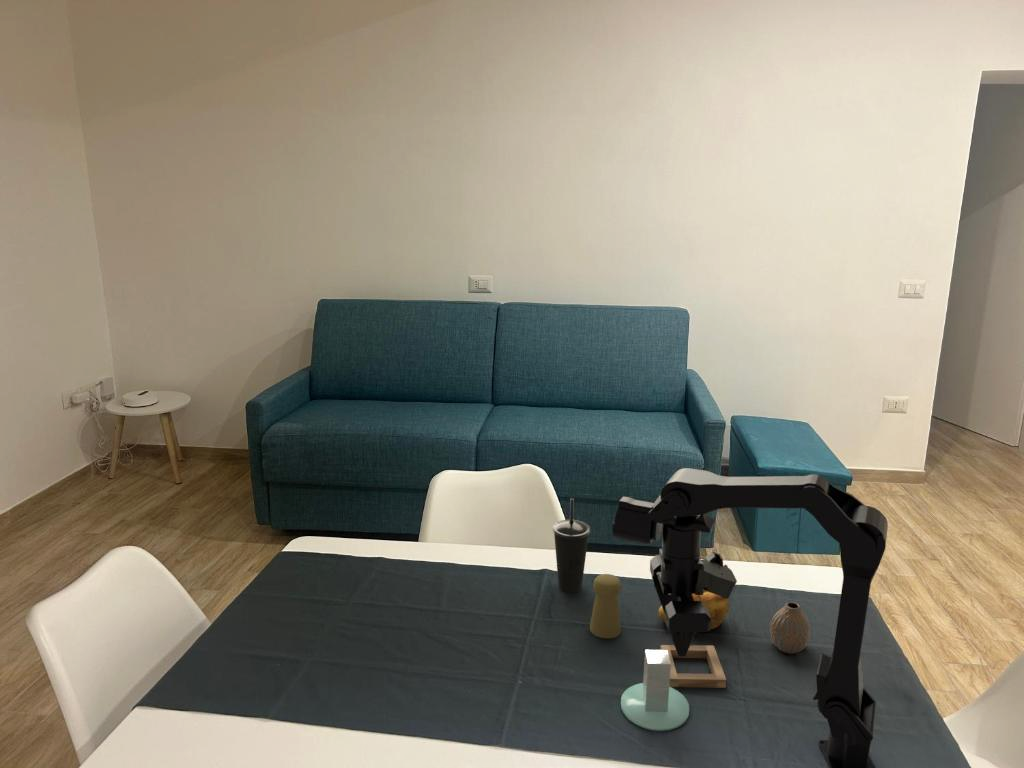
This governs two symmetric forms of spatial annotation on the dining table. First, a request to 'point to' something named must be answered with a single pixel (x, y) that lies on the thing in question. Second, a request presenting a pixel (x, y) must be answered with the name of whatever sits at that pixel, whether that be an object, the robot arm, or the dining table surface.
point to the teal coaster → (654, 720)
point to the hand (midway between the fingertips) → (676, 638)
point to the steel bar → (656, 680)
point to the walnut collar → (696, 680)
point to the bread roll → (709, 607)
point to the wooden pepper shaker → (606, 607)
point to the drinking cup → (570, 552)
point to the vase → (790, 629)
